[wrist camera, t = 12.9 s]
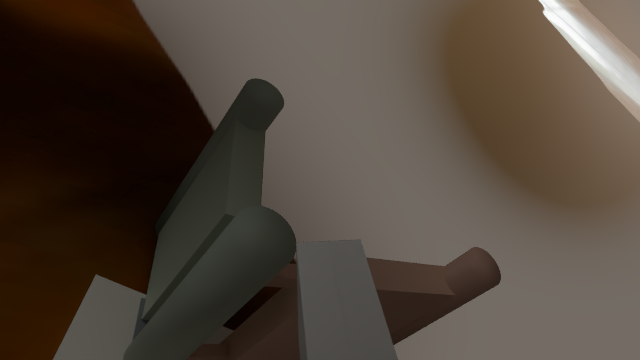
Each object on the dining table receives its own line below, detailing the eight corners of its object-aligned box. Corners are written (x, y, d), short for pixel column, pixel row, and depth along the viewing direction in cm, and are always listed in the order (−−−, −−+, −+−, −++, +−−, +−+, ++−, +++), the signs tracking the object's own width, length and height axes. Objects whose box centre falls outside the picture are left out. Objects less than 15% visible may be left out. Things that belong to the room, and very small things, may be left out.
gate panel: (179, 378, 33) (302, 268, 23) (178, 339, 34) (294, 220, 24) (355, 372, 40) (506, 287, 30) (348, 341, 41) (491, 249, 31)
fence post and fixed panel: (166, 391, 33) (296, 276, 22) (116, 383, 31) (229, 257, 21) (192, 222, 41) (297, 79, 30) (153, 210, 39) (248, 57, 29)
